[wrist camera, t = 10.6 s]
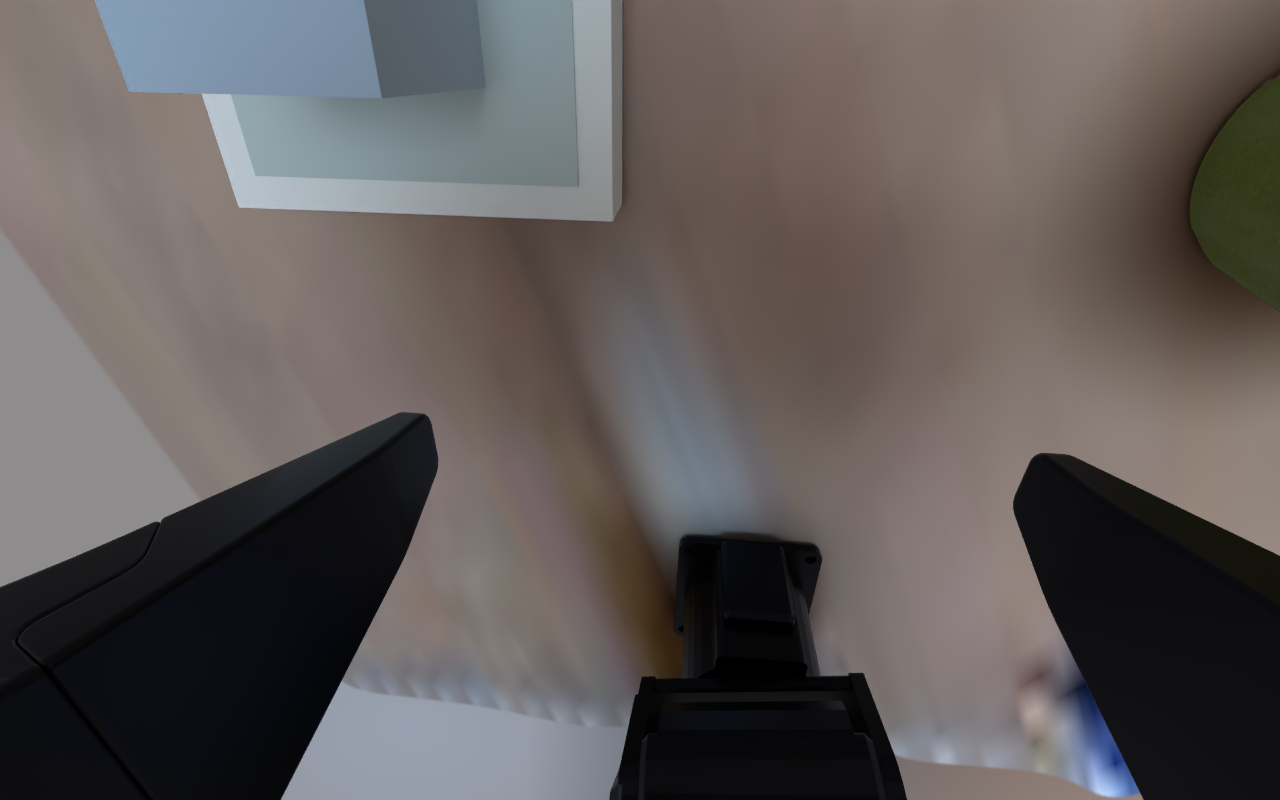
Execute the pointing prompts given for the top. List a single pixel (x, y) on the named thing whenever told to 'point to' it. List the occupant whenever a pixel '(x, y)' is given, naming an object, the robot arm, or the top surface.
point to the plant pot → (1243, 196)
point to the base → (453, 130)
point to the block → (296, 46)
